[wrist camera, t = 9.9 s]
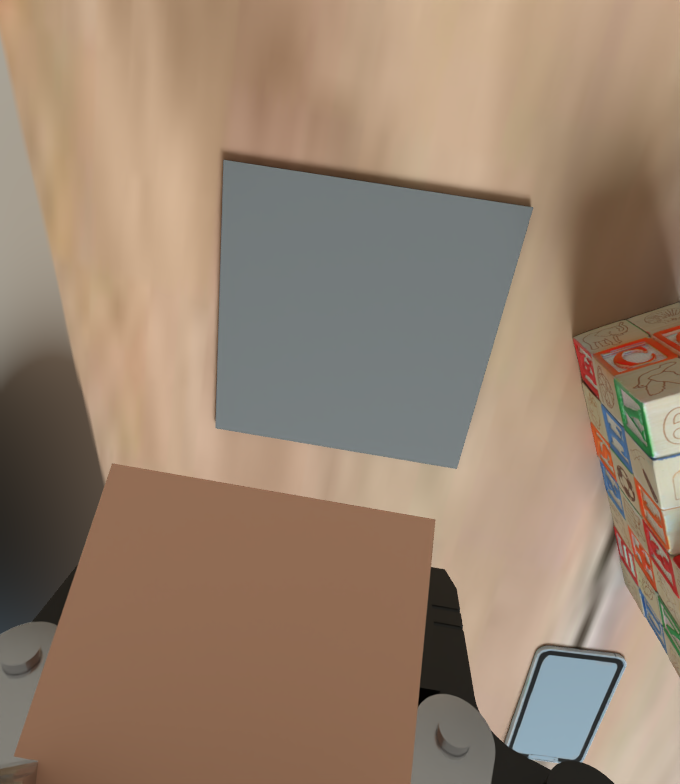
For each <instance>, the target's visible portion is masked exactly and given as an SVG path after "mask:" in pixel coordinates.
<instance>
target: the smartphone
mask: <svg viewBox="0 0 680 784" xmlns="http://www.w3.org/2000/svg"><path fill="white" fill-rule="evenodd" d="M625 668H626V661H625V659H624V657H623V656H621V655H620V654H616V653H608V652H606V653H605V652H599V651H598V652H597V651H592V650H580V649H575V648H565V647H564V648H563V647H557V646H556V647H555V646H543V647H541V648H539V649H538V650H537V651H536V653H535V656H534V658H533V661H532V664H531V667H530V670H529V673H528V676H527V679H526V682H525V685H524V688H523V691H522V693H521V696H520V699H519V702H518V705H517V708H516V711H515V714H514V716H513V719H512V722H511V725H510V729H509V731H508V734H507V737H506V740H505V743H504V744H506V745H507V746H508V747H510V748H511V749H513V750H515V751H516V752H518V753H520V754H522V755H524V756H526V757H527V758H529V759H532V760H539V761H547V762H554V763H561V762H564V761H577V762H583V760H584V759H585V756H586V754H587V752H588V750H589V748H590V745H591V743H592V741H593V739H594V736H595V734H596V732H597V730H598V728H599V725H600V723H601V721H602V719H603V717H604V714H605V712H606V710H607V708H608V705H609V703H610V701H611V699H612V697H613V694H614V692H615V690H616V688H617V685H618V683H619V681H620V679H621V677H622V674H623V672H624V670H625Z"/></svg>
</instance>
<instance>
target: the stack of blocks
mask: <svg viewBox="0 0 680 784" xmlns="http://www.w3.org/2000/svg"><path fill="white" fill-rule="evenodd" d="M573 342H574V345H575V349H576V354H577V358H578V362H579V366H580V371H581V375H582V378H583V382H582V386H583V391H584V396H585V400H586V404H587V409H588V413H589V418H590V420H591V428H592V432H593V437H594V442H595V446H596V451H597V455H598V458H599V459H600V464H601V468H602V472H603V477H604V482H605V487H606V491H607V493H608V499H609V503H610V508H611V512H612V517H613V521H614V531H615V536H616V540H617V545H618V550H619V554H620V561H621V566H622V570H623V575H624V580H625V584H626V586H627V588H628V590H629V591H630V593H631V595H632V596H633V598H634V599H635V601H636V603H637V605H638V607H639V609H640V610H641V612H642V614H643V615H644V617H646V619H647V620H648V622H649V624H650V626H651V627H652V629H653V631H654V632H655V634H656V636H657V637H658V639H659V641H660V642H661V644H662V646H663V648H664V650H665V651H666V653H667V655H668V657H669V659H670V661H671V663H672V665H673V666H674V668H675V670H676V672H677V673H678V675H679V677H680V302H678V303H675V304H673V305H669V306H666V307H663V308H660V309H657V310H654V311H651V312H648V313H645V314H642V315H638V316H635V317H632V318H629V319H627V320H621V321H618V322H615V323H612V324H609V325H606V326H603V327H600V328H597V329H594V330H591V331H588V332H585V333H583V334H580V335H577V336H575V337H573Z"/></svg>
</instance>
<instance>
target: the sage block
mask: <svg viewBox="0 0 680 784" xmlns="http://www.w3.org/2000/svg"><path fill="white" fill-rule="evenodd" d="M434 528H435V519H429V518H423V517H418V516H412V515H406V514H400V513H394V512H389V511H383V510H377V509H371V508H366V507H360V506H354V505H348V504H343V503H337V502H331V501H325V500H320V499H314V498H308V497H302V496H296V495H291V494H285V493H279V492H273V491H268V490H262V489H256V488H250V487H245V486H239V485H233V484H227V483H221V482H216V481H210V480H204V479H198V478H193V477H187V476H181V475H175V474H170V473H164V472H158V471H152V470H147V469H141V468H135V467H129V466H123V465H118V464H112V466H111V469H110V472H109V475H108V478H107V481H106V484H105V487H104V490H103V493H102V496H101V498H100V501H99V505H98V507H97V510H96V513H95V516H94V519H93V522H92V525H91V528H90V531H89V534H88V537H87V540H86V543H85V546H84V549H83V552H82V555H81V558H80V561H79V564H78V567H77V570H76V573H75V576H74V579H73V582H72V584H71V587H70V590H69V593H68V596H67V599H66V602H65V605H64V608H63V611H62V614H61V617H60V620H59V623H58V626H57V629H56V632H55V635H54V638H53V641H52V644H51V647H50V650H49V653H48V656H47V659H46V662H45V665H44V668H43V670H42V673H41V676H40V679H39V682H38V685H37V688H36V691H35V694H34V697H33V700H32V703H31V706H30V709H29V712H28V715H27V718H26V721H25V724H24V727H23V730H22V733H21V736H20V739H19V742H18V745H17V748H16V751H15V754H14V757H19V758H24V759H30V760H37V761H38V767H37V777H36V784H411V774H412V763H413V753H414V742H415V731H416V721H417V710H418V699H419V689H420V678H421V667H422V657H423V646H424V635H425V624H426V614H427V603H428V592H429V582H430V571H431V560H432V550H433V539H434Z"/></svg>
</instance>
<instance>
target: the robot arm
mask: <svg viewBox="0 0 680 784" xmlns="http://www.w3.org/2000/svg"><path fill="white" fill-rule="evenodd" d="M77 567H78V565H77V566H76V567H75V569H74V570H73V571H72V573H71V574H70V575H69V576H68V578H67V579H66V580H65V581H64V583H63V584H62V585H61V586H60V588H59V589H58V590H57V591H56V593H55V594H54V595H53V597H52V598H51V599H50V600H49V601H48V603H47V604H46V605H45V606H44V608H43V609H42V610H41V611H40V613H39V614H38V615H37V616H36V618H35V619H34V620H33V621H32V622H31V623H26V624H22V625H19V626H16V627H14V628H12V629H9V630H7V631H6V632H4V633H2V634H1V635H0V784H36V777H37V767H38V761H37V760H30V759H24V758H19V757H14V754H15V751H16V748H17V745H18V742H19V739H20V736H21V733H22V730H23V727H24V724H25V721H26V718H27V715H28V712H29V709H30V706H31V703H32V700H33V697H34V694H35V691H36V688H37V685H38V682H39V679H40V676H41V673H42V670H43V668H44V665H45V662H46V659H47V656H48V653H49V650H50V647H51V644H52V641H53V638H54V635H55V632H56V629H57V626H58V623H59V620H60V617H61V614H62V611H63V608H64V605H65V602H66V599H67V596H68V593H69V590H70V587H71V584H72V582H73V579H74V576H75V573H76V570H77ZM462 628H463V625H462V619H461V613H460V607H459V601H458V595H457V589H456V587H455V585H454V584H453V582H452V581H451V579H450V577H449V576H448V574H447V572H446V571H445V569H439V568H433V567H431V571H430V582H429V592H428V603H427V614H426V624H425V635H424V646H423V657H422V667H421V678H420V689H419V699H418V710H417V721H416V731H415V742H414V753H413V763H412V774H411V784H614V783H613V782H612V781H611V780H610V779H609V778H608V777H607V776H605V775H604V774H603V773H601V772H600V771H598V770H597V769H595V768H593V767H591V766H590V765H587V764H584V763H582V762H577V761H564V762H561V763H559V764H557V765H556V766H555V767H554V768H553V769H552V770H550V769H548V768H546V767H544V766H542V765H540V764H539V763H537V762H535V761H533V760H531V759H529V758H527V757H526V756H524V755H522V754H520V753H518V752H516V751H515V750H513V749H511V748H510V747H508V746H507V745H506V744H504V743H503V742H502V741H501V740H500V739H499V738H498V737H497V736H496V735H494V733H493V732H492V731H491V730H490V728H489V726H488V724H487V722H486V721H485V719H484V718H483V717H482V715H481V714H480V712H479V710H478V707H477V705H476V701H475V697H474V691H473V685H472V679H471V673H470V667H469V661H468V655H467V649H466V643H465V637H464V631H463V630H462Z"/></svg>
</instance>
